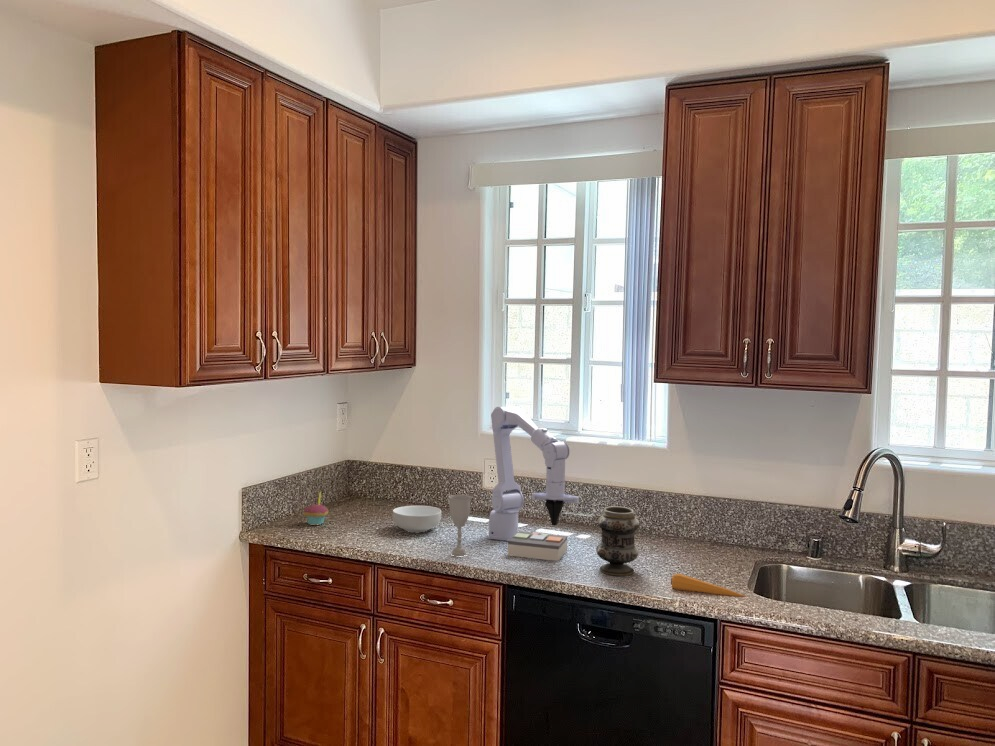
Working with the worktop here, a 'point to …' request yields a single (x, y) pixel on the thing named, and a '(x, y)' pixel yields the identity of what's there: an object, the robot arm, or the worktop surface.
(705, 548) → the worktop surface
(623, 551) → the apothecary jar
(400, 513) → the cereal bowl
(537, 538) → the blue key
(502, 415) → the robot arm
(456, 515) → the chalice
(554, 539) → the terracotta key
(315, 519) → the cupcake
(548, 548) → the keypad
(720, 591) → the carrot
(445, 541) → the worktop surface
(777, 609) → the worktop surface
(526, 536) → the sage key
